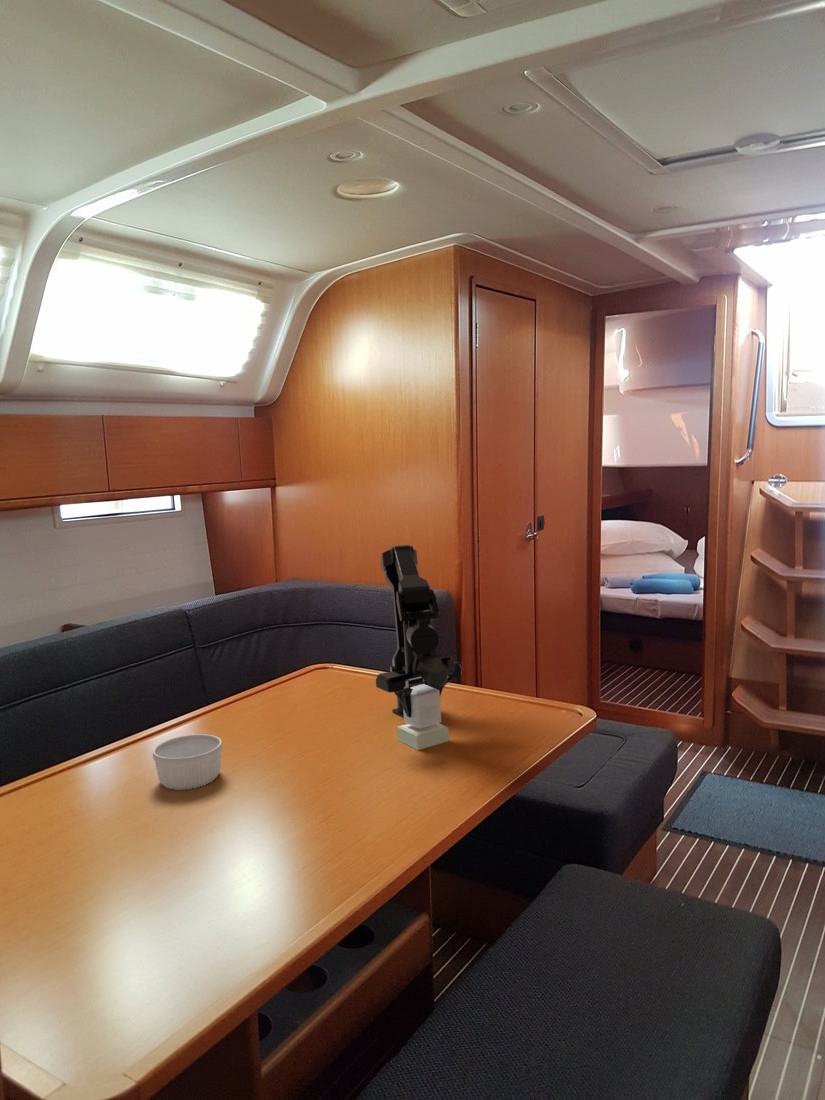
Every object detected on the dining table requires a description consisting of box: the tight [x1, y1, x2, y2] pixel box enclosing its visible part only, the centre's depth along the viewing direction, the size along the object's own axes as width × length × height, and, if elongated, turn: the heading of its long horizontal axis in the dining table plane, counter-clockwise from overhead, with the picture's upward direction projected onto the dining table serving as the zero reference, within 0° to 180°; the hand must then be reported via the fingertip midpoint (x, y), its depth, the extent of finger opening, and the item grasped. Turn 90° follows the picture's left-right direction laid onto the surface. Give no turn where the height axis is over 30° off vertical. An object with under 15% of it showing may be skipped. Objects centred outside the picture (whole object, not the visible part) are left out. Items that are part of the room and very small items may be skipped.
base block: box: [396, 723, 450, 751], centre depth 165 cm, size 8×8×3 cm
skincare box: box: [403, 684, 442, 729], centre depth 165 cm, size 6×6×7 cm
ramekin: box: [152, 733, 223, 791], centre depth 151 cm, size 13×13×7 cm
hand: (421, 713), depth 165 cm, fingers closed on skincare box, 6 cm apart
